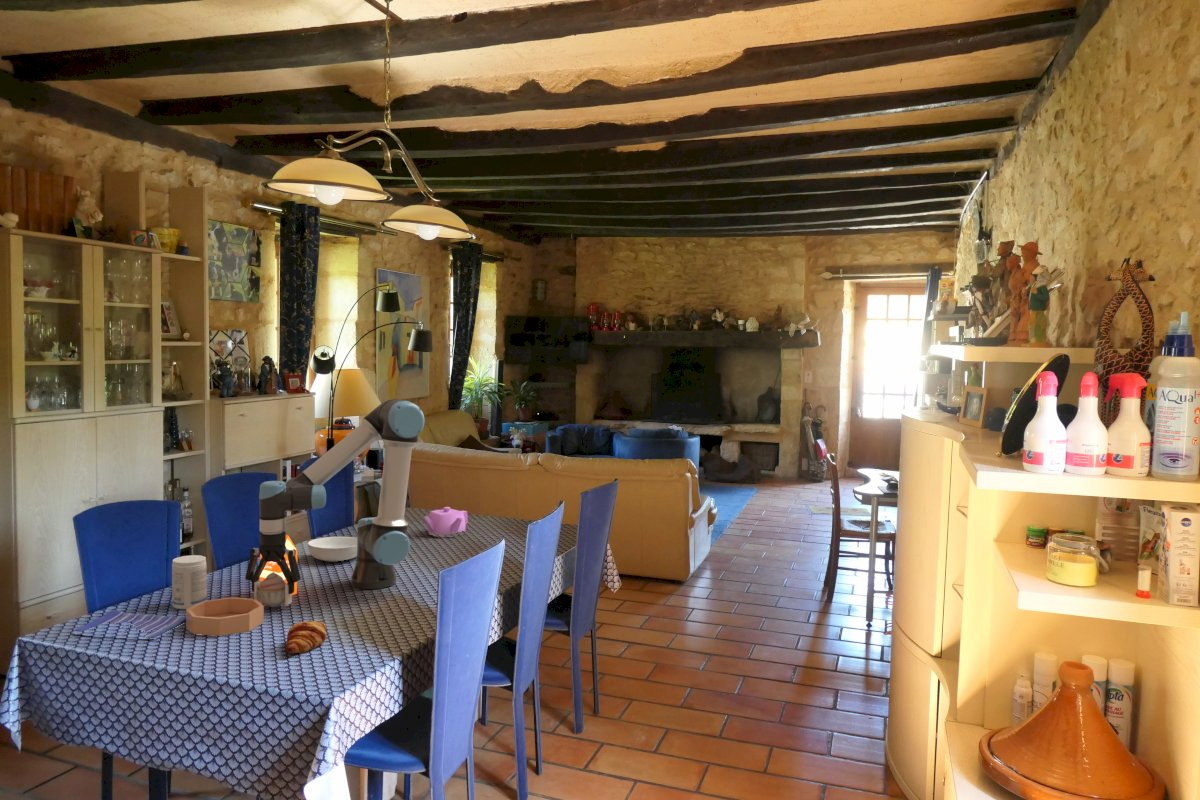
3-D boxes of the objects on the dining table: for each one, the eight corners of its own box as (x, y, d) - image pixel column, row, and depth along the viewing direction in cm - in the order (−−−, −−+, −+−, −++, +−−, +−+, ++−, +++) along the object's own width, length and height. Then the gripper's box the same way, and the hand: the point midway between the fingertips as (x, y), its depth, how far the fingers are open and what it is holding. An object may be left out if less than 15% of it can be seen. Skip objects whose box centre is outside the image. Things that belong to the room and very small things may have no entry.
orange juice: (277, 589, 272) (278, 530, 271) (297, 593, 268) (298, 533, 267) (258, 594, 265) (259, 534, 264) (278, 599, 261) (279, 537, 260)
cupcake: (278, 609, 247) (278, 577, 246) (250, 607, 249) (250, 575, 248) (295, 600, 256) (295, 568, 255) (268, 598, 258) (268, 566, 257)
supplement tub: (206, 599, 258) (207, 553, 257) (206, 608, 249) (207, 561, 249) (172, 602, 254) (172, 556, 253) (170, 611, 245) (171, 563, 244)
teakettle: (468, 531, 371) (469, 504, 370) (461, 539, 354) (462, 511, 353) (431, 529, 371) (432, 503, 371) (422, 538, 354) (423, 510, 354)
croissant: (312, 642, 234) (300, 617, 234) (343, 628, 233) (331, 603, 233) (279, 669, 212) (266, 641, 212) (313, 653, 212) (300, 625, 212)
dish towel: (112, 617, 239) (112, 608, 239) (189, 622, 238) (190, 613, 238) (70, 637, 222) (70, 627, 222) (153, 643, 221) (153, 632, 220)
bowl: (272, 616, 244) (273, 600, 244) (238, 638, 225) (238, 620, 225) (212, 612, 246) (213, 595, 246) (173, 633, 227) (174, 615, 227)
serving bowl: (372, 554, 323) (372, 537, 322) (351, 567, 302) (351, 549, 301) (321, 551, 325) (322, 534, 324) (297, 564, 304) (297, 546, 303)
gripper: (312, 530, 253) (312, 601, 255) (245, 527, 256) (245, 597, 257) (301, 535, 246) (301, 608, 247) (232, 532, 248) (232, 604, 250)
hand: (273, 602), depth 252 cm, fingers closed on cupcake, 9 cm apart
